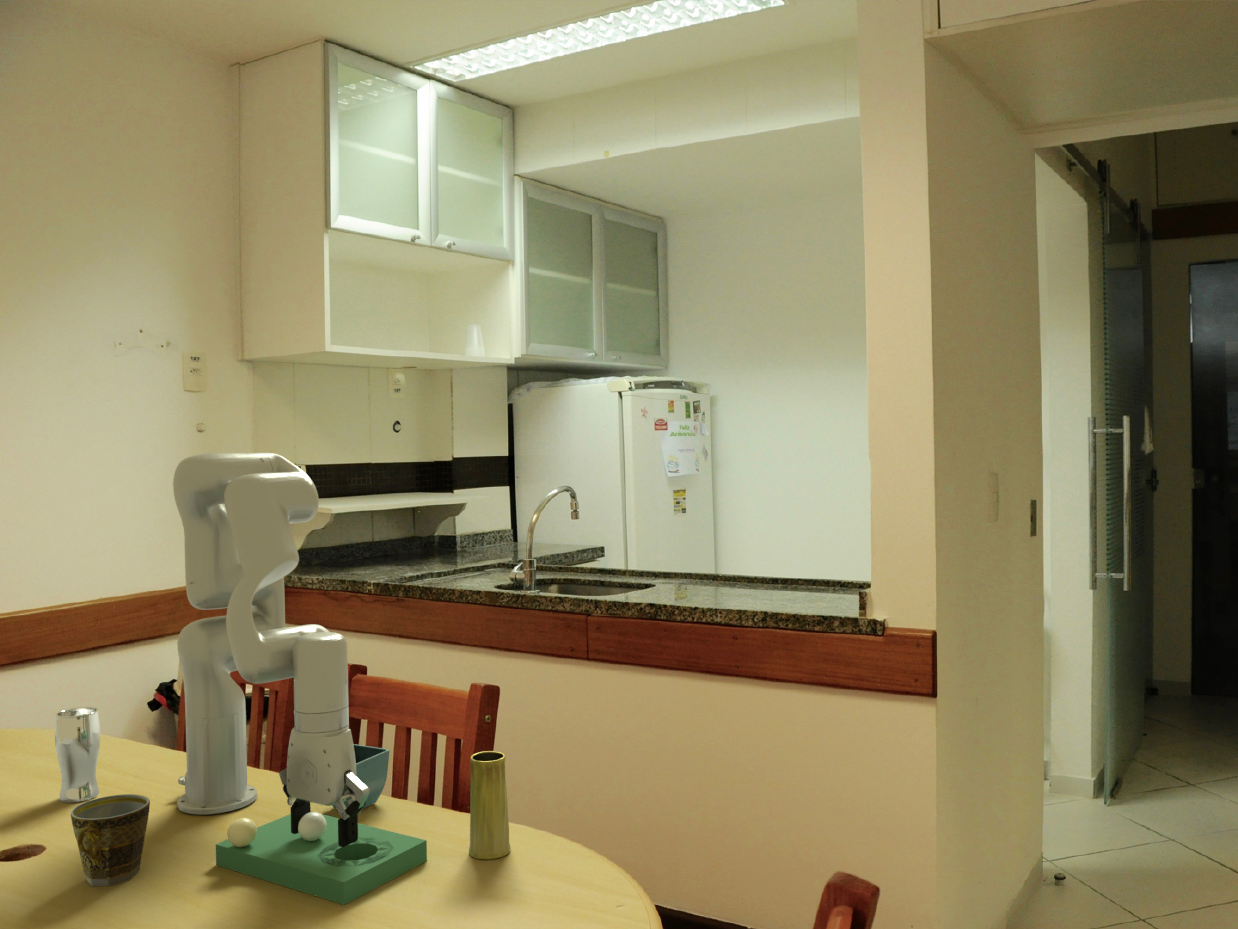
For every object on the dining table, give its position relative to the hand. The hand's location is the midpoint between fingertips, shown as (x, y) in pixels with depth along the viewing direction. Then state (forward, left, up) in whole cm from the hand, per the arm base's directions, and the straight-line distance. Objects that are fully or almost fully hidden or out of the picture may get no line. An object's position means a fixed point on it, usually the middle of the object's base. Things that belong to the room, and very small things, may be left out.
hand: (324, 837), depth 145 cm
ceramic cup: (-23, -19, -4) cm, 30 cm away
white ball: (-2, 0, +1) cm, 3 cm away
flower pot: (-14, +19, -4) cm, 24 cm away
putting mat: (-1, 0, -4) cm, 4 cm away
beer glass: (-60, -1, -4) cm, 60 cm away
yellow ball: (-10, -7, +1) cm, 12 cm away
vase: (+18, +15, -4) cm, 24 cm away
